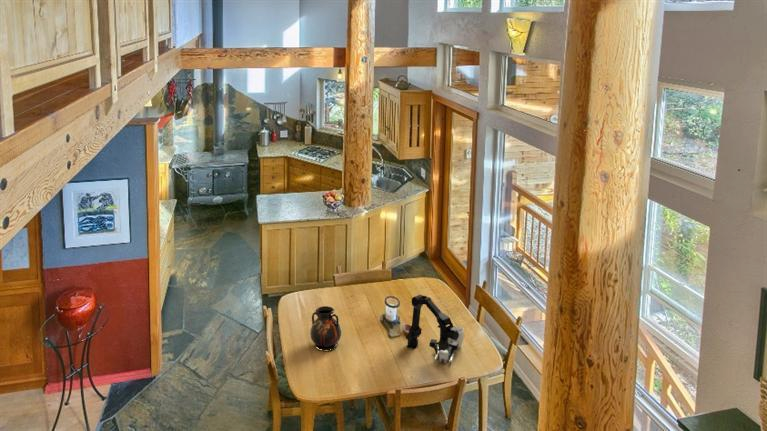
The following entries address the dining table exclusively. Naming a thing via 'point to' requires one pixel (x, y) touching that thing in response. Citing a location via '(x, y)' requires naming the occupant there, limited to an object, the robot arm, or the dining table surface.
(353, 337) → the dining table surface
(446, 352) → the light bulb
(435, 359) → the u-shaped channel
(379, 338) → the dining table surface
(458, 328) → the mug
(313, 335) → the amphora vase
